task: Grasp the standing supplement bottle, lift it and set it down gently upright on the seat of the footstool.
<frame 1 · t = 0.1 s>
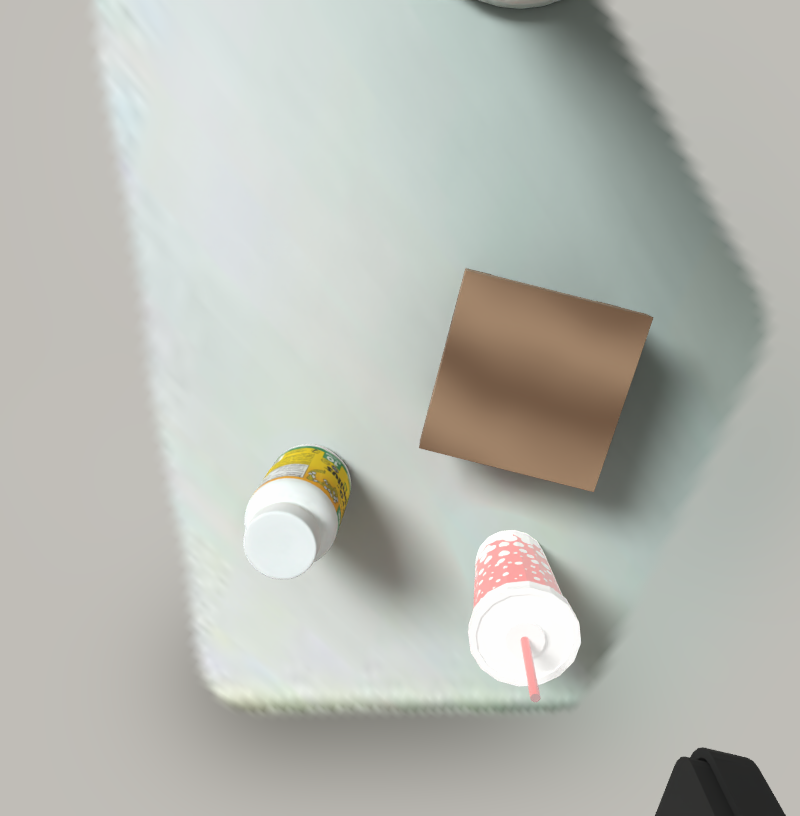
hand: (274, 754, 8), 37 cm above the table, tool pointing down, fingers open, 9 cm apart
beverage cup: (510, 560, 48), on the table
supplement bottle: (312, 479, 47), on the table
footstool: (521, 363, 44), on the table
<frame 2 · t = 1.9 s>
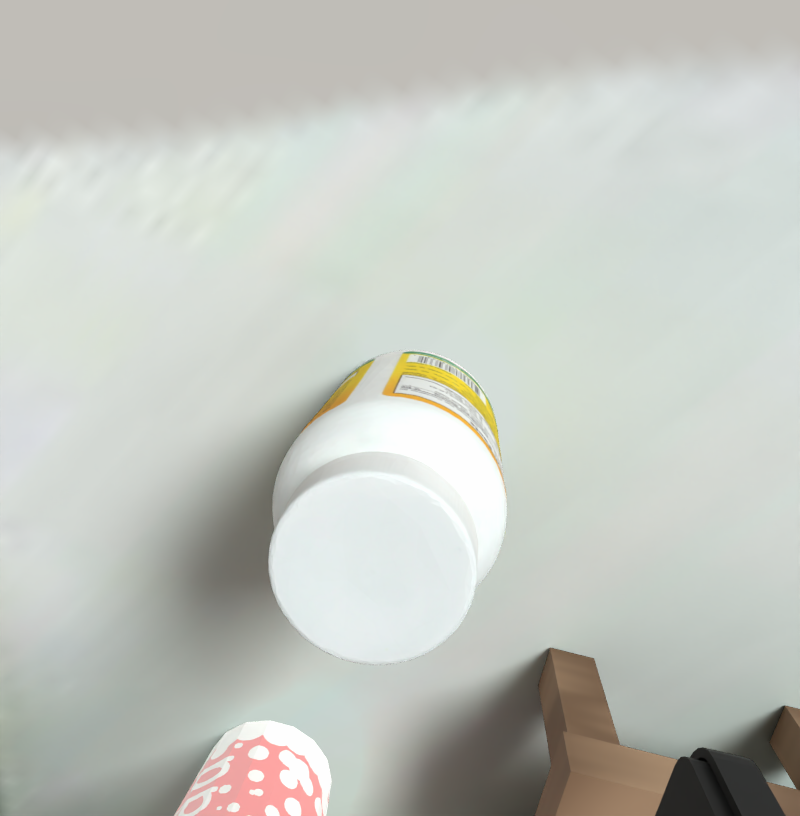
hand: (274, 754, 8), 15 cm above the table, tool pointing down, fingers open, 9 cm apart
beverage cup: (271, 769, 26), on the table
supplement bottle: (410, 429, 23), on the table
footstool: (645, 795, 25), on the table
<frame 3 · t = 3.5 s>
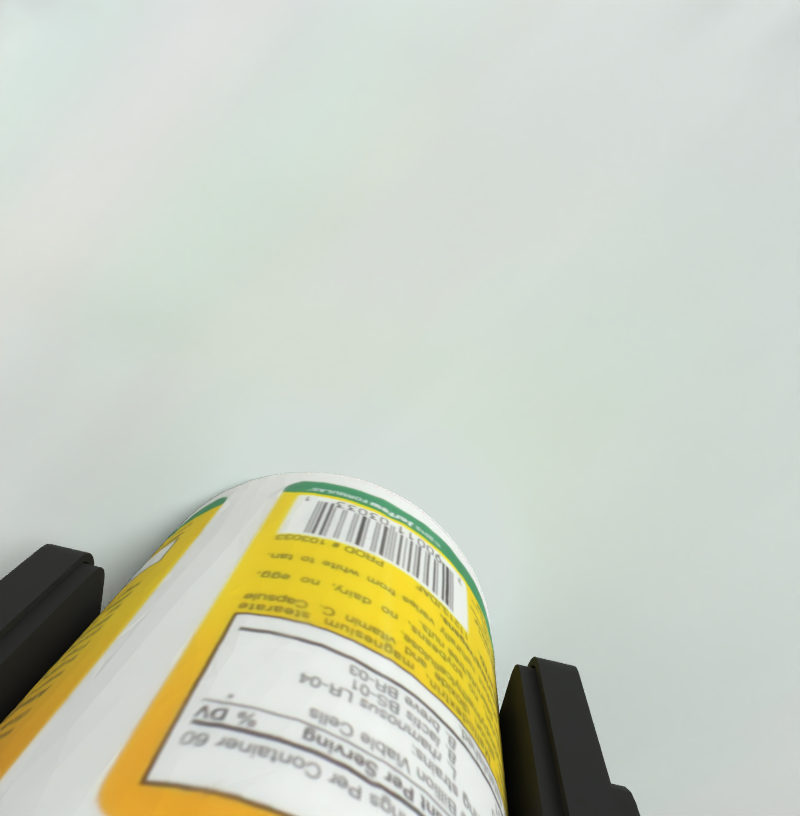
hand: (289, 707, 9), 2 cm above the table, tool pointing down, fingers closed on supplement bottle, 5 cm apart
supplement bottle: (319, 616, 11), on the table, touching gripper
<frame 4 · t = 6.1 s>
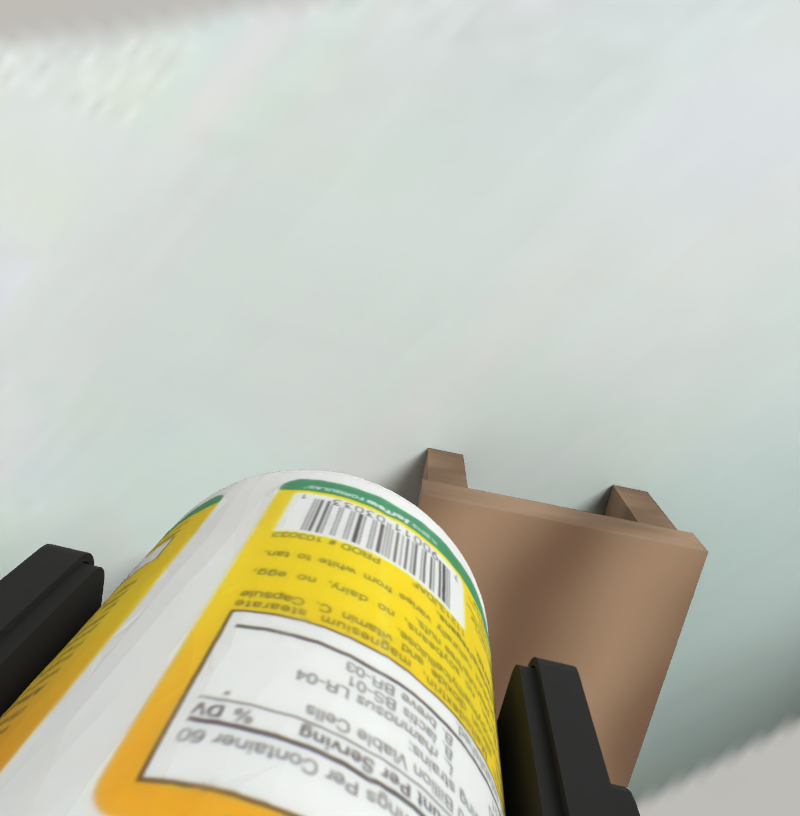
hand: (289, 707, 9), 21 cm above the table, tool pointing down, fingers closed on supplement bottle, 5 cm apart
supplement bottle: (316, 614, 11), point 19 cm above the table, touching gripper
footstool: (511, 569, 31), on the table
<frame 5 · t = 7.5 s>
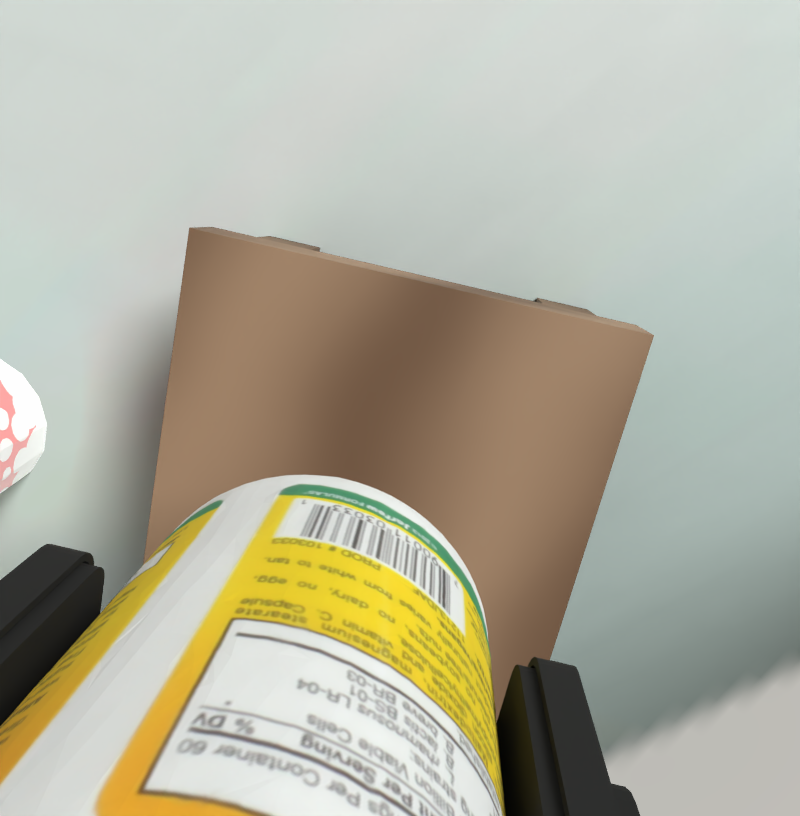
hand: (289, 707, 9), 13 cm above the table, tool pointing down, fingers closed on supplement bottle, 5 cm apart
supplement bottle: (315, 619, 11), point 11 cm above the table, touching gripper
footstool: (393, 424, 22), on the table
when the fingers open (9 cm above the table, at t = 8.8 s): supplement bottle stays where it is, resting on footstool.
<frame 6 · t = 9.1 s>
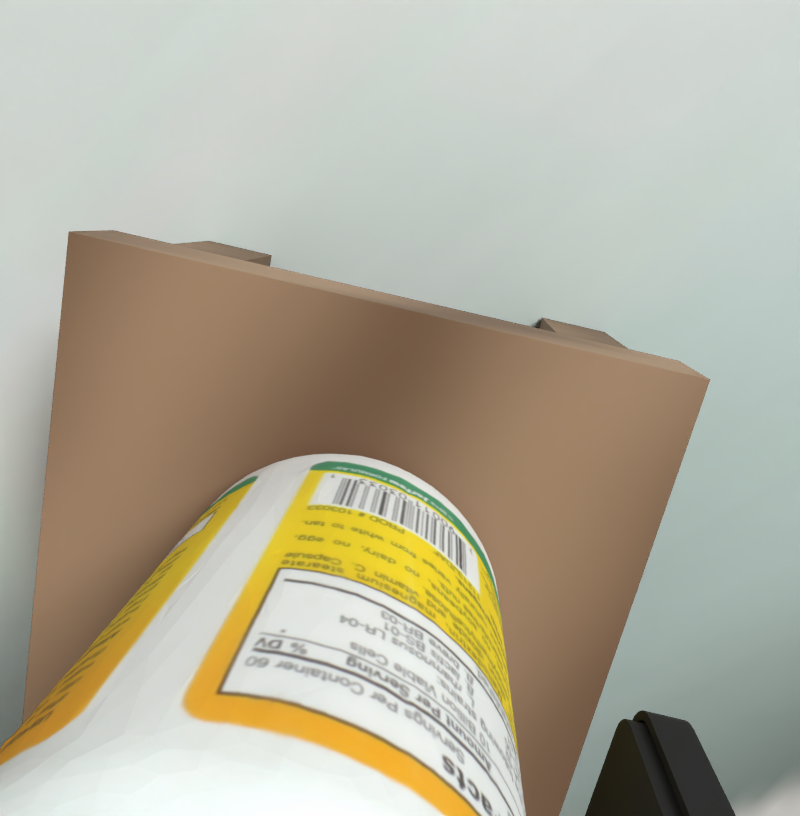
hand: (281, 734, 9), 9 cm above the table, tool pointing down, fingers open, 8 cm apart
supplement bottle: (339, 589, 12), point 6 cm above the table, touching footstool
footstool: (365, 472, 18), on the table
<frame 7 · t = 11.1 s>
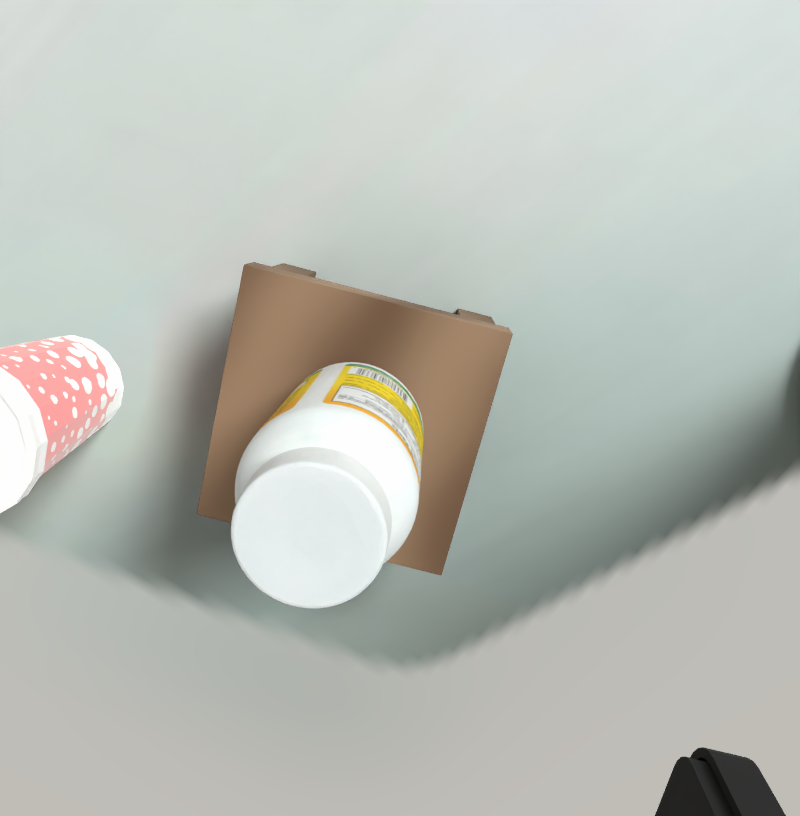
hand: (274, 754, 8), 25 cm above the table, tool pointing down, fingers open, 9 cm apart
beverage cup: (77, 382, 34), on the table
supplement bottle: (353, 427, 27), point 6 cm above the table, touching footstool
footstool: (362, 391, 33), on the table
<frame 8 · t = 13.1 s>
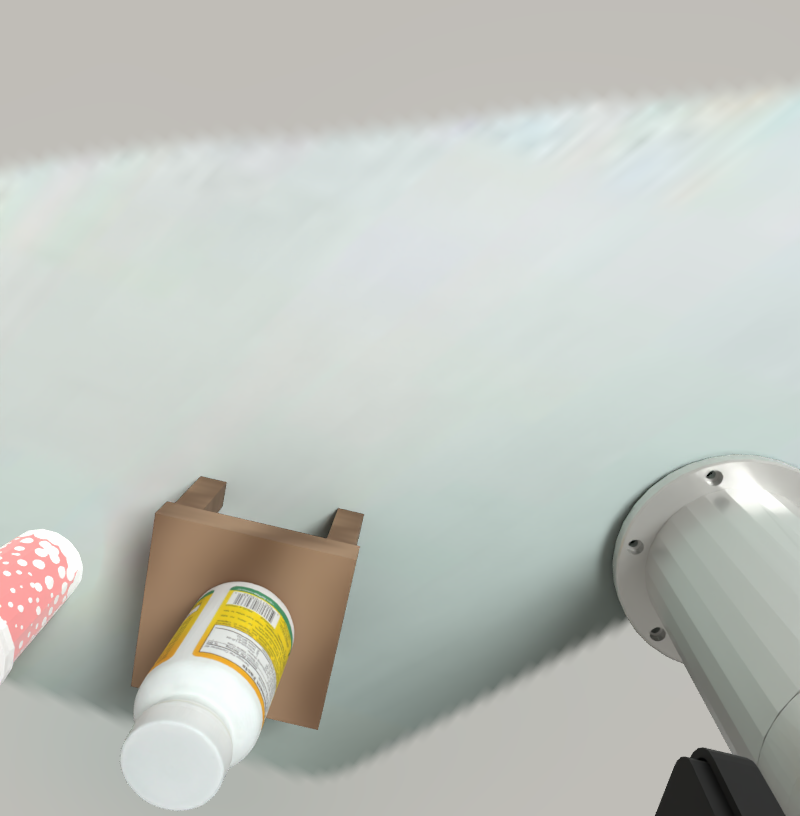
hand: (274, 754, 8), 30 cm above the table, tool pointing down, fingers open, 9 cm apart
beverage cup: (47, 562, 43), on the table
supplement bottle: (244, 624, 36), point 6 cm above the table, touching footstool
footstool: (268, 569, 42), on the table
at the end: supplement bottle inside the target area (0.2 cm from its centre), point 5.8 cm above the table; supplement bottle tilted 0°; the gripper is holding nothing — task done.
